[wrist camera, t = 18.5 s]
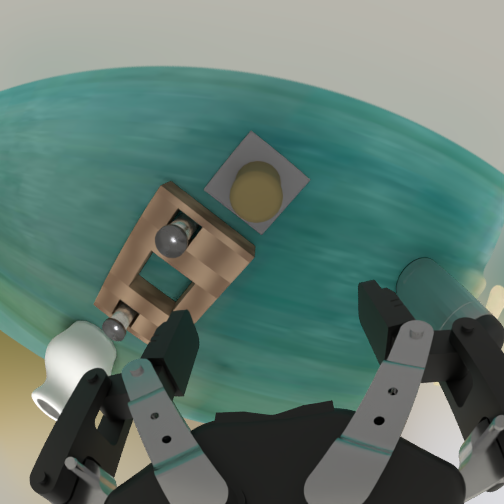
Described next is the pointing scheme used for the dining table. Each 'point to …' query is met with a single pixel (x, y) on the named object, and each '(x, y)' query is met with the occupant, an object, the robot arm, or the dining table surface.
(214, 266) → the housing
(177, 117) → the dining table surface
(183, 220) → the plunger
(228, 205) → the pad
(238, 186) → the cork
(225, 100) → the dining table surface
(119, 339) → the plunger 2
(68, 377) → the vase
